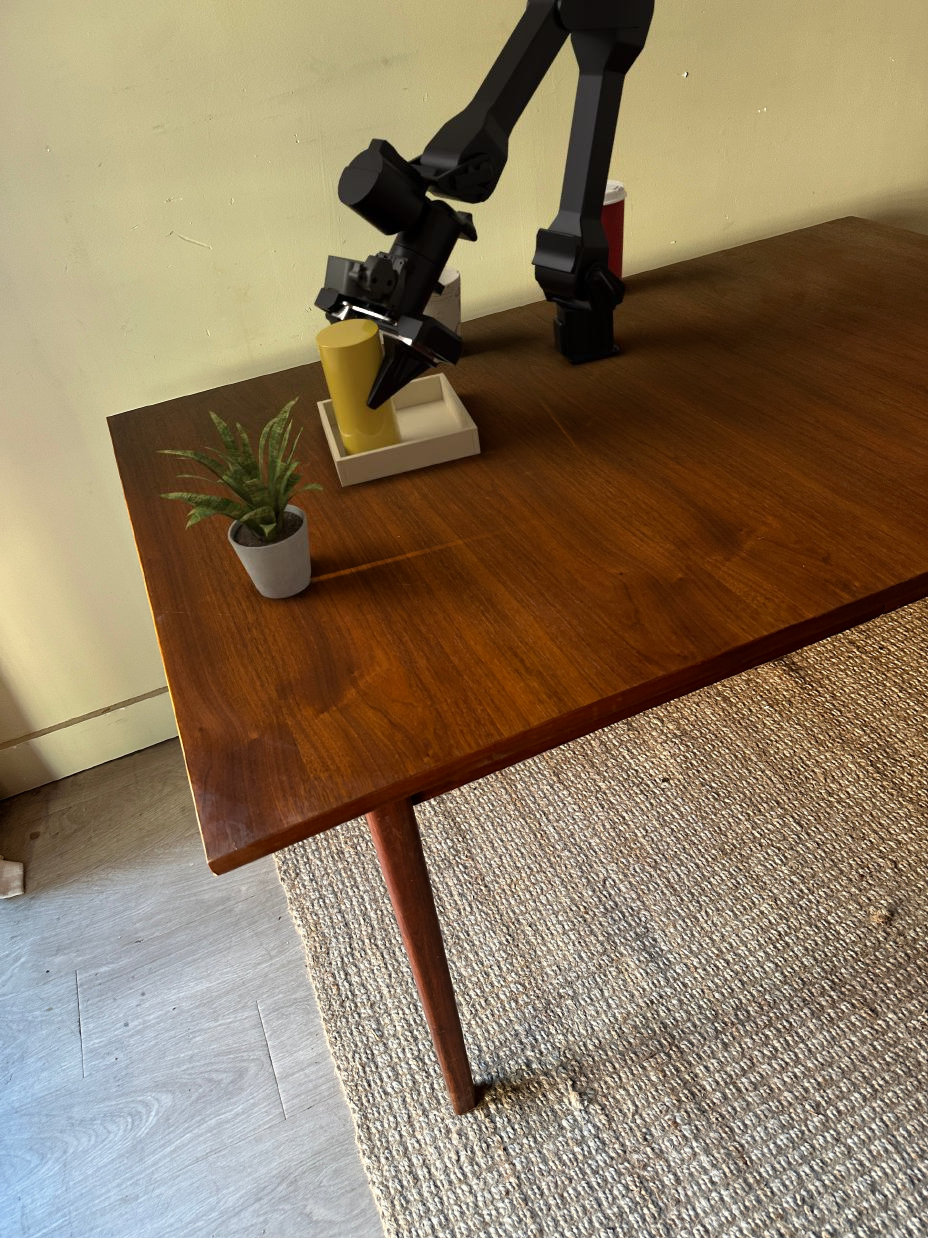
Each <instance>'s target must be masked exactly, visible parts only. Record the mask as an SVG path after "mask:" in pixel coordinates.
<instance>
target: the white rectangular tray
mask: <svg viewBox="0 0 928 1238" xmlns="http://www.w3.org/2000/svg"><path fill="white" fill-rule="evenodd" d="M393 398H394V403H395V407H396V412H397V417H398V421H399V426H400V431H401V435H402V440H403V443H400V444H396V445H392V446H388V447H384V448H380V449H375V450H371V451H367V452H363V453H359V454H355V455H351V456H347V457H346V454H345V450H344V446H343V442H342V439H341V435H340V431H339V427H338V423H337V420H336V416H335V412H334V408H333V404H332V401H331V398H329V399H325V400H321V401H317V402H316V405H317V408H318V412H319V417H320V420H321V425H322V428H323V431H324V434H325V437H326V440H327V442H328V446H329V449H330V453H331V456H332V459H333V462H334V465H335V468H336V471H337V475H338V478H339V481H340V484H341V487H342V488H344V487H348V486H353V485H357V484H360V483H365V482H368V481H373V480H376V479H380V478H385V477H388V476H392V475H397V474H401V473H404V472H405V473H406V472H409V471H413V470H418V469H421V468H425V467H429V466H433V465H437V464H442V463H445V462H449V461H453V460H458V459H462V458H466V457H470V456H474V455H478V454H481V447H480V439H479V431H478V427H477V425H476V423H475V421H474V420H473V418H472V417H471V415H470V414H469V412H468V411H467V409H466V407H465V406H464V404H463V402H462V401H461V399H460V398H459V396H458V394H457V393H456V391H455V389H454V388H453V386H452V385H451V384H450V382H449V380H448V378H447V377H446V375H445V374H444V372H440V373H437V374H432V375H427V376H424V377H419V378H415V379H414V380H412V381H411V382H410V383H408V384H407V385H406V386H404V387H403V388H402V389H401V390H399V391H398V392H397V393H396V394H394V395H393Z"/></svg>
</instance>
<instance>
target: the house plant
mask: <svg viewBox="0 0 928 1238" xmlns="http://www.w3.org/2000/svg"><path fill="white" fill-rule="evenodd" d="M299 397H300V396H297V397H295V398H293V399H292V400H291V401H289V402H288V403H287V404H286V405H284V407H282V409H281V410H280V412H279V413H278V415H277V416H276V417H275V418H273V419H271V420H270V421H269V422H268V423H267V424H266V425H265V427H264V428H263V429H262V432H261V435H260V439H259V443H258V445H259V446H258V464H257V460H256V458H255V455H254V452H253V449H252V445H251V442H250V439H249V436H248V434H247V432H246V431H245V429H244V428H243V427H242V425H241V424H240V423H239V422H237V421H235V424H236V425H235V426H236V428H237V432H238V434H239V437H240V439H241V451H240V449H239V447H238V445H237V443H236V440H235V438H234V436H233V434H232V432H231V430H230V428H229V426H228V425H227V424H226V422H224V421H223V420H222V419H221V418H220V417H219V416H218V415H217V414H216V413H215V412H212V411H210V410H208V413H209V415H210V417H211V419H212V420H213V421H212V422H214V425H215V426H216V429H217V430H218V433H219V434H220V437H221V439H222V442H223V444H224V447H225V449H226V452H227V454H225V453H224V452H222V451H220V450H218V449H215V448H211V447H208V446H204V445H200V444H196V443H195V444H196V445H197V446H199V447H201V448H205V449H208V450H210V451H212V452H214V453H215V454H217V455H218V456H219V457H220V458H222V459H223V460H224V461H225V462H226V463H227V464H228V468H229V469H228V468H226V467H225V465H222V464H221V463H220V462H218V461H217V460H216V459H213V458H212V457H210V456H208V455H206V454H203V453H201V452H198V451H194V450H185V449H182V450H181V449H163V450H157V451H154V452H155V453H162V454H174V455H181V456H183V457H175V458H173V459H175V460H176V459H177V460H180V459H181V460H182V459H183V460H190V461H193V462H197V463H198V464H200V465H202V466H203V467H205V468H207V469H208V470H209V471H210V472H212V474H214V475H215V476H216V477H217V478H218V479H219V480H216V482H215V481H214V480H211V479H209V478H206V477H203V476H200V475H195V474H180V475H177V476H176V478H196V479H200V480H201V479H202V480H205V481H208V482H211V483H213V484H216V485H218V486H220V487H223V488H224V489H226V490H227V491H229V492H230V493H232V494H233V495H234V496H236V498H238V499H240V500H241V501H242V502H244V503H245V504H246V505H245V504H243V503H241V502H238V501H235V500H233V499H230V498H228V497H222V496H217V495H210V494H202V493H195V492H176V491H175V492H168V493H161V494H158V495H156V497H160V498H161V497H162V498H164V499H168V500H177V501H182V502H183V503H186V504H189V505H192V506H194V508H193V509H191V511H190V512H189V513H187V516H186V519H187V518H188V516H189V515H191V516H190V518H189V519H188V522H187V523H186V526H185V530H187V529H188V527H190V526H192V525H194V524H196V523H197V522H200V521H202V520H204V519H206V518H208V517H211V516H215V515H223V516H226V517H228V518H230V519H232V520H234V521H233V522H232V524H231V525H230V526H229V528H228V531H227V537H228V541H229V542H230V544H231V546H232V548H233V549H234V551H235V553H236V554H237V557H238V558H239V559H240V562H241V563H242V565H243V566H244V568H245V570H246V572H247V574H248V576H249V577H250V579H251V581H252V582H253V584H254V586H255V588H256V590H258V592H259V594H260V595H262V596H263V597H265V598H269V599H285V598H289V597H292V596H294V595H297V594H299V593H301V592H302V591H303V590H305V589H306V588H307V587H308V586H309V584H310V582H311V580H312V579H311V578H312V577H311V575H312V564H311V556H310V555H311V554H310V542H309V529H308V528H309V527H308V518H307V514H306V513H305V511H304V510H303V509H302V508H300V507H298V506H296V505H293V504H289V503H290V501H291V500H292V499H293V497H294V496H296V495H298V494H299V493H301V492H303V491H306V490H313V489H317V490H321V491H323V492H324V493H325V494H326V491H325V489H324V488H323V486H322V484H319V483H310V484H308V485H305V486H304V487H301V488H300V489H298V490H297V491H295V492H294V493H293V494H292V495H291V493H292V491H293V490H294V489H295V487H296V486H297V485H298V483H299V482H300V480H301V478H302V475H303V473H292V472H293V471H294V470H295V468H297V467H298V465H299V464H300V465H302V463H301V462H300V461H296V460H297V458H298V457H299V455H297V456H295V458H293V459H292V456H293V454H294V451H295V449H296V446H297V443H298V441H299V438H300V435H301V433H302V431H303V429H304V426H302V427H301V428H300V431H299V433H298V435H297V436H296V437H295V439H294V442H293V444H292V447H291V449H290V452H289V454H288V457H287V459H286V461H282V459H283V455H284V452H285V450H286V447H287V444H288V440H289V436H290V431H291V428H292V424H293V418H291V421H290V423H289V424H288V426H287V428H286V431H285V433H284V436H283V439H282V443H281V438H282V435H283V430H284V427H285V425H286V423H287V420H288V417H289V414H290V411H291V408H292V407H293V406H294V405H295V404H296V402H297V401H298V399H299ZM271 427H272V428H271ZM270 428H271V429H270ZM269 431H270V434H269V438H268V442H267V443H268V444H267V445H268V446H267V447H268V449H267V450H268V454H267V470H266V474H267V475H266V477H267V478H266V482H267V483H266V484H265V481H264V448H265V443H266V440H267V436H268V433H269ZM280 443H281V446H280ZM279 448H280V449H279ZM184 456H186V457H184ZM291 459H292V460H291ZM216 471H217V472H216ZM218 472H219V473H220V474H221V475H223V476H221V475H220V474H219V473H218ZM220 483H222V484H225V485H226V486H227V487H229V488H230V489H231V490H230V489H229V488H227V487H224V486H223V485H222V484H220Z"/></svg>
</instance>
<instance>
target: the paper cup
mask: <svg viewBox="0 0 928 1238" xmlns="http://www.w3.org/2000/svg"><path fill="white" fill-rule="evenodd" d="M627 196H628V192H627V191H626V190H625V185H624V183H623V181H620V180H616V179H608V180H607V186H606V192H605V198H604V204H603V210H602V217H601V221H602V224H603V228H604V231H605V234H606V237H607V241H608V244H609V261H608V268H609V269H610V270H611V271H612V272H613V273H614V274H615V275H616V276H617V277H618V278H619V279H620V280H621V281H622V282H623V263H624V260H623V259H624V238H625V237H624V235H625V233H624V231H625V229H624V228H625V207H626V198H627Z"/></svg>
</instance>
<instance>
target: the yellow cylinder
mask: <svg viewBox="0 0 928 1238" xmlns="http://www.w3.org/2000/svg"><path fill="white" fill-rule="evenodd" d="M381 337H382V336H381V334H380V333H379V328H378V325H377V324H376V323H375V322H373V321H371V320H366V319H351V320H345V321H341V322H337V323H334V324H332V325H331V324H330V325H328V326H326V327H324V328H323V329H321V330H320V331H319V332H318V333H317V334H316V336H315V339H314V340H315V343H316V347H317V351H318V355H319V358H320V362H321V366H322V370H323V374H324V378H325V381H326V386H327V390H328V393H329V396H330V399H331V401H332V404H333V408H334V412H335V416H336V420H337V423H338V427H339V431H340V435H341V439H342V442H343V446H344V450H345V454H346V457H347V456H351V455H355V454H359V453H363V452H367V451H371V450H375V449H380V448H384V447H388V446H392V445H396V444H400V443H403V440H402V435H401V431H400V426H399V421H398V417H397V412H396V407H395V403H394V398H393V396H392V397H391V398H389V399H388V400H387V401H386V402H385V403H383V404H382V405H381V406H380V407H378V408H377V409H376V410H373V409H371V408H369V407H367V401H368V398H369V394H370V391H371V389H372V386H373V384H374V381H375V379H376V376H377V374H378V371H379V369H380V366H381V364H382V361H383V359H384V356H385V350H384V346H383V343H382V342H383V341H382V338H381Z"/></svg>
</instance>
